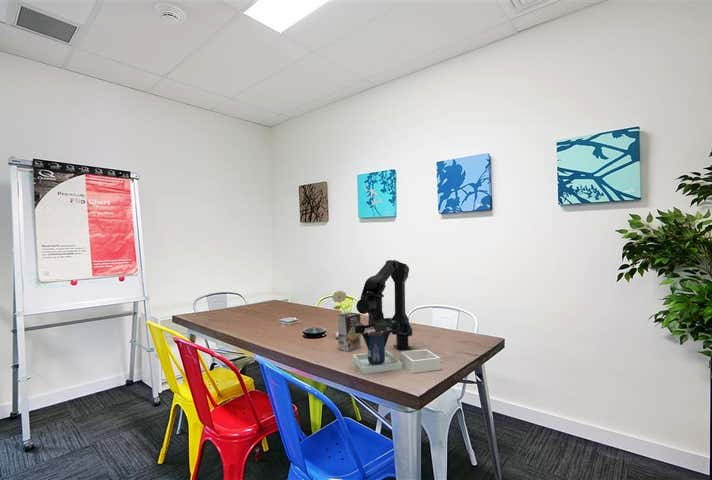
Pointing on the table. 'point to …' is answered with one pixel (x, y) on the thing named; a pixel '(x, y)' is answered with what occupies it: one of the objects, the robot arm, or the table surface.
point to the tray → (366, 367)
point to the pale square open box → (420, 361)
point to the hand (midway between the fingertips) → (376, 347)
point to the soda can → (376, 348)
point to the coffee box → (348, 332)
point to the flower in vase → (339, 298)
